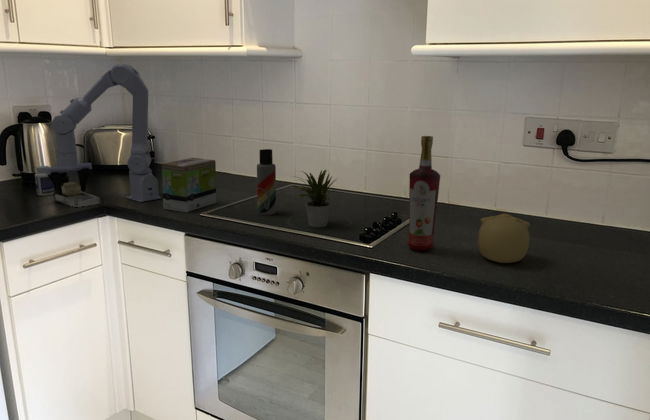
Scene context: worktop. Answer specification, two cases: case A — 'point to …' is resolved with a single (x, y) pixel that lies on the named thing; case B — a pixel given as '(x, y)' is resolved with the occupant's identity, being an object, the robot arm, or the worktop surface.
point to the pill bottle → (43, 182)
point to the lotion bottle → (266, 183)
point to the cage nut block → (71, 189)
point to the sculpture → (503, 238)
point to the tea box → (189, 184)
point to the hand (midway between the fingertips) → (71, 192)
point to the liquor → (423, 200)
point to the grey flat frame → (78, 200)
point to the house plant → (317, 199)
